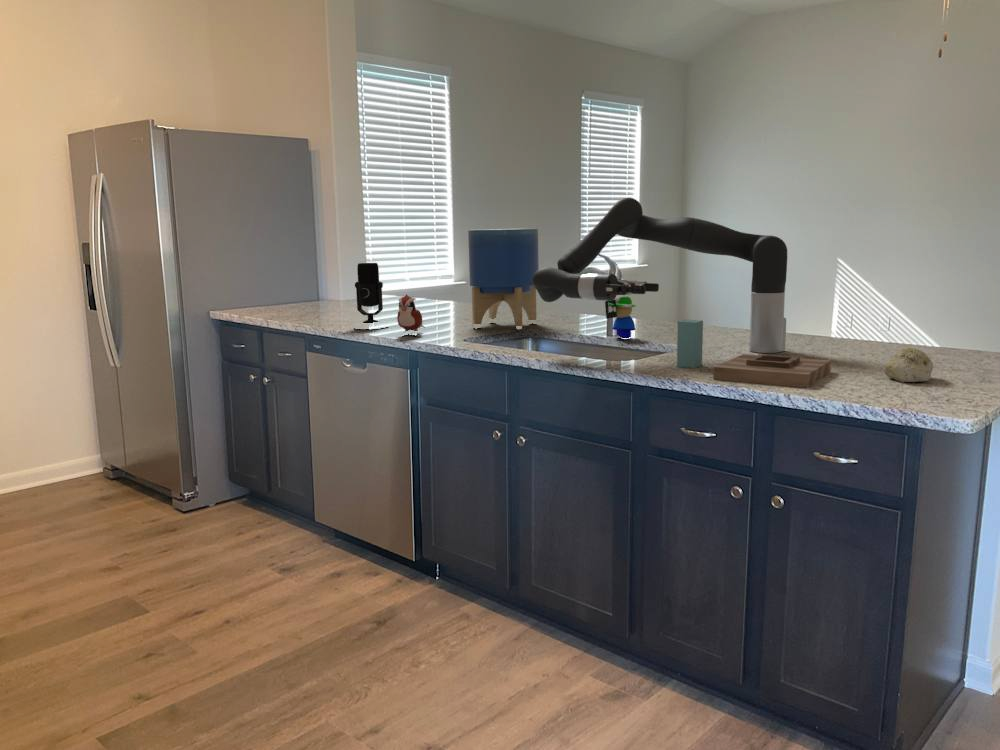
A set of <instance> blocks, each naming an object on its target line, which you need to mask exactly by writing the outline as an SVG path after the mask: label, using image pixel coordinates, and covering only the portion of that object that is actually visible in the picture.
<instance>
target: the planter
mask: <svg viewBox="0 0 1000 750" xmlns="http://www.w3.org/2000/svg"><path fill="white" fill-rule="evenodd" d="M467 233H468V234H467V235H468V239H467V240H468V266H469V267H468V268H469V269H468V270H469V271H468V272H469V286H470V287H471V304H472V305H471V307H472V309H471V310H472V311H471V312H472V325H473V324H481V325H482V322H483V319H484V316H485V315H486V312H487V311H488V319H489V318H491V319H494V318H496V319H497V314H498V309H499V306H500V304H501V303H503V302H505V303H506V304H507V306H509V308H510V311H511V313H512V315H513V320H514V327H515V326H522V327H523V310H524V311H525V313H526V317H527V321H528V320H537V290H536V288H535V286H534V284H533V281H532V277H533V275H534V273H535V272H536V271H537V270H539V269H540V268H539V267H540V266H539V228H538V227H537V228H535V227H534V228H493V229H490V228H489V229H487V228H486V229H468V230H467Z"/></svg>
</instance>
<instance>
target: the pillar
mask: <svg viewBox="0 0 1000 750" xmlns="http://www.w3.org/2000/svg"><path fill="white" fill-rule="evenodd" d="M703 330H704V321H703V319H702V320H700V319H699V320H698V319H681V320H678V321H677V337H676V338H677V341H676V342H677V343H676V344H677V345H676V346H677V349H676V351H677V352H676V367H677V368H688V367H691V369H697V368H699V367H701V366H703V339H704V338H703V337H704V336H703V335H704V331H703ZM700 365H701V366H700ZM698 366H699V367H698ZM696 367H697V368H696Z"/></svg>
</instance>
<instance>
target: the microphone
mask: <svg viewBox="0 0 1000 750" xmlns="http://www.w3.org/2000/svg"><path fill="white" fill-rule="evenodd" d="M356 271H357V281H356V282H355V283H354V288H355V291H356V293H355V294H356V309H357V311H358V312H359V313H360V314H361V315H362V316H367V319H366V320H364V321H362V322H363V323H373V322H378V321H379V320H375V319H374V316H376V315H379V314H380V313H381V312H382V311H383V309H384V308H383V307H384V305H383V289H382V288H383V287H384V283H383V281H380V271H379V264H378V262H361V263H357V270H356ZM376 306H377V308H378V310H376V311H375V312H367V311H366V310H364V309H363V307H368V308H372V307H376Z"/></svg>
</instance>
